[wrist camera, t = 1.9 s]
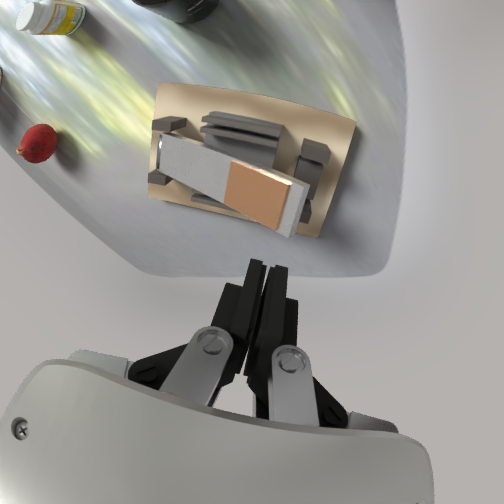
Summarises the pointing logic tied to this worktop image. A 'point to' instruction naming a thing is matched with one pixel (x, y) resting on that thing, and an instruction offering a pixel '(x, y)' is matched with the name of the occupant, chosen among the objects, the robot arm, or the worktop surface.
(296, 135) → the heatsink base
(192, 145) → the strap
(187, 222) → the worktop surface
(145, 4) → the supplement bottle
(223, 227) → the worktop surface
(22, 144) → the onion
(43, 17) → the supplement bottle
